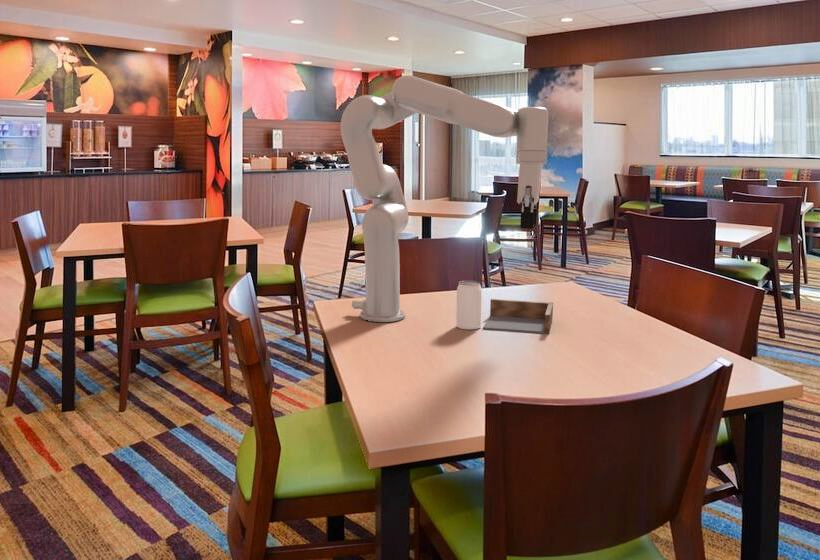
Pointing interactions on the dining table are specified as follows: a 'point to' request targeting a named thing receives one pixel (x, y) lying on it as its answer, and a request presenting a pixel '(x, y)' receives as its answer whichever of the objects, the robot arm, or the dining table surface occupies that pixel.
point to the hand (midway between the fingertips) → (528, 226)
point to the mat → (515, 324)
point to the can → (469, 305)
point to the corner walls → (523, 310)
